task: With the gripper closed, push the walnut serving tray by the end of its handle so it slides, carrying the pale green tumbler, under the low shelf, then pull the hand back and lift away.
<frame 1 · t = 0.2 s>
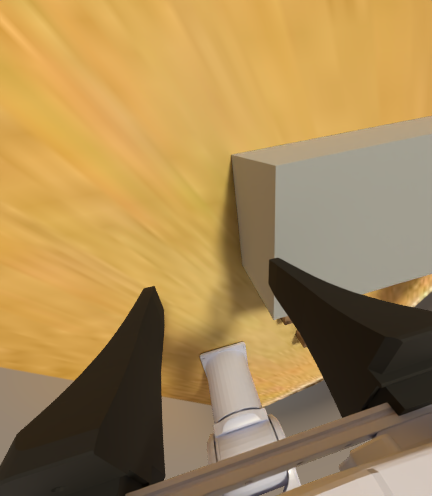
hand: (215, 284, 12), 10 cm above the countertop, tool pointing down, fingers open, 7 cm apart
shelf: (327, 198, 22), on the countertop
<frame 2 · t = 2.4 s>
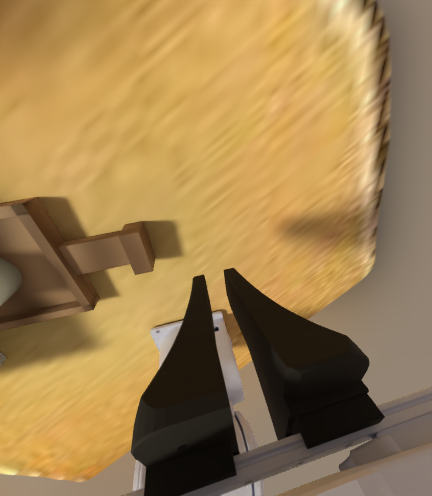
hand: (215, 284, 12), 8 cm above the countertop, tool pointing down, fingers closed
tray: (16, 266, 17), on the countertop, touching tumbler
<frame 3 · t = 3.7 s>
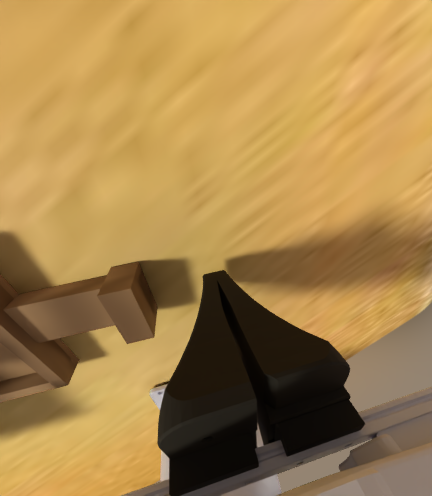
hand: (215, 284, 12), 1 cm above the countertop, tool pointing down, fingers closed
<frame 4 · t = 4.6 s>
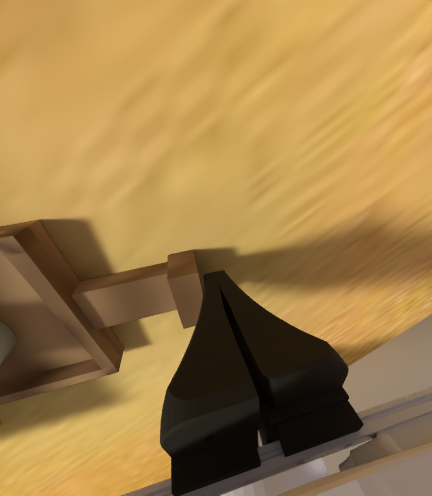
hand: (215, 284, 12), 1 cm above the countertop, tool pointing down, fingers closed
tray: (5, 318, 11), on the countertop, touching gripper, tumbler
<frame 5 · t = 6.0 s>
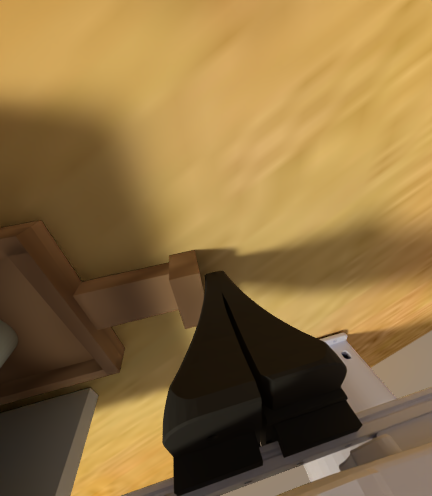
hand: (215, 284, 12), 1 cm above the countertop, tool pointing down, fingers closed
tray: (7, 319, 11), on the countertop, touching gripper, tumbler
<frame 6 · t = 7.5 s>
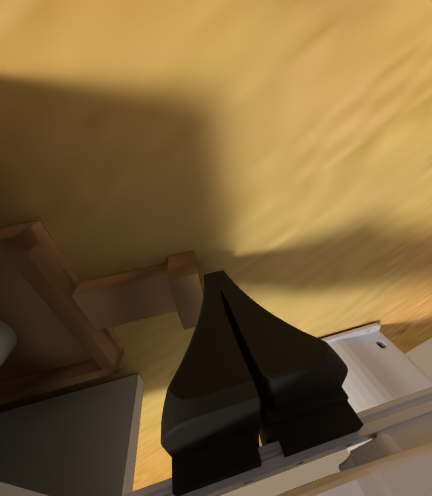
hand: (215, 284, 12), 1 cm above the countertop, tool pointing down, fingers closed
tray: (6, 318, 11), on the countertop, touching gripper, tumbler
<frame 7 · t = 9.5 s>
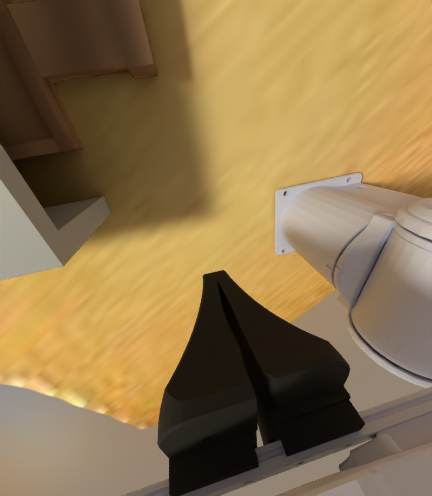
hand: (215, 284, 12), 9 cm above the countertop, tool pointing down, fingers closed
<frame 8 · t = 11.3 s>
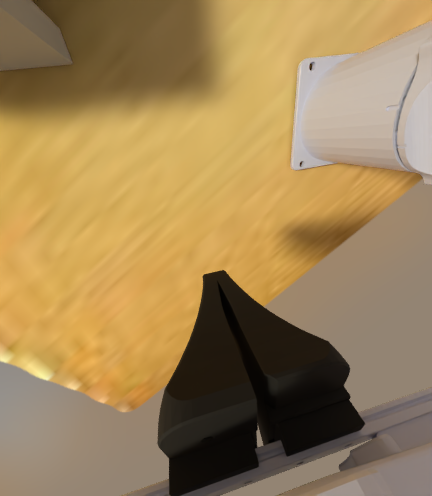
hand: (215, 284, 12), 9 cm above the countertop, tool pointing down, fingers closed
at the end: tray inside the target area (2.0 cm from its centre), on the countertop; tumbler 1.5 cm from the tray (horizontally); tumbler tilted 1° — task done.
